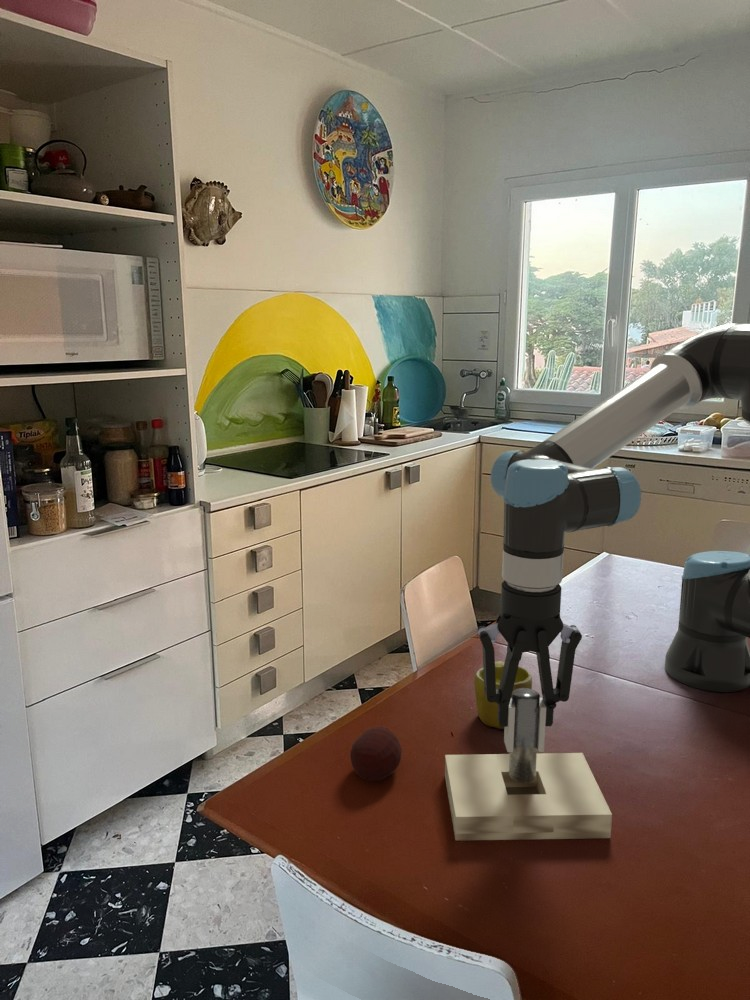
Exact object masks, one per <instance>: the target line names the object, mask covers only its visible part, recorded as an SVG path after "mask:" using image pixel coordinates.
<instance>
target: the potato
mask: <svg viewBox="0 0 750 1000" xmlns="http://www.w3.org/2000/svg"><path fill="white" fill-rule="evenodd" d="M401 759H402V747H401V743H400V741H399V739H398V736H397V735H396V734H395V733H394V732H393V731H391V730H390V729H389V728H386V727H383V726H375V727H371V728H369V729H367V730H365V731H364V732H363V733H362V734H361V735H360V736H359V737H357V738H355V740H354V741H353V743H352V746H351V749H350V762H351V765H352V768H353V770H354V772H355V773H356V775H357V776H358V777H360V778H361V779H363V780H364V781H367V782H374V781H375V782H376V781H381V780H384V779H386V778H388V777H390V776H391V775H392V774H394V772H395V771H396V769H397V768H398V767H399V765H400V763H401Z"/></svg>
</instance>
